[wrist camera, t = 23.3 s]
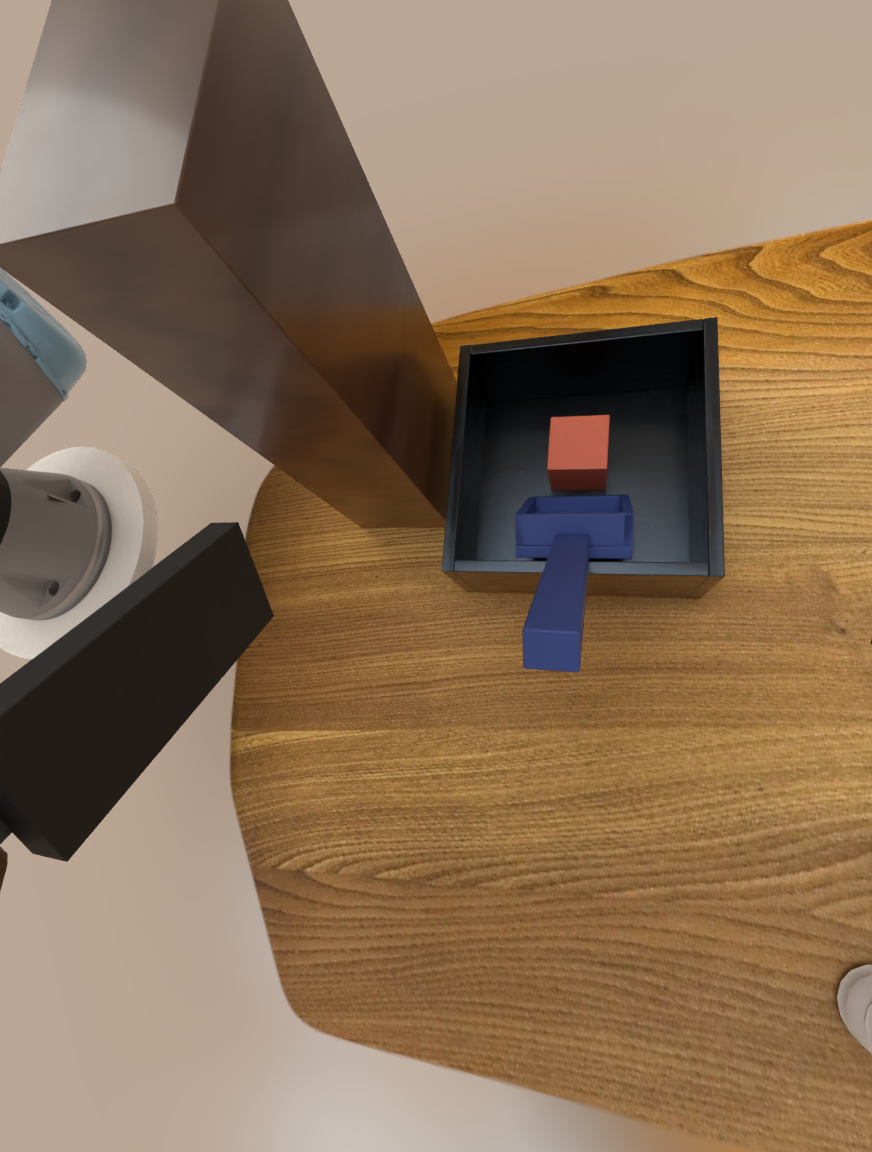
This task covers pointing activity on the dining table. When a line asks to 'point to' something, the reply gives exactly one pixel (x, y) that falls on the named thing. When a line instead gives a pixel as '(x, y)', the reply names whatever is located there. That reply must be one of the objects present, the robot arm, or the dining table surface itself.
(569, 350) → the black square open box
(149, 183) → the stand
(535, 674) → the dining table surface
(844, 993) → the rook chess piece
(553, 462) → the block
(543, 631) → the blue long-handled scoop
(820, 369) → the dining table surface
